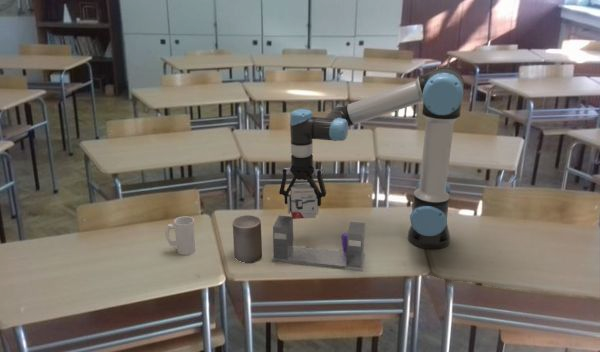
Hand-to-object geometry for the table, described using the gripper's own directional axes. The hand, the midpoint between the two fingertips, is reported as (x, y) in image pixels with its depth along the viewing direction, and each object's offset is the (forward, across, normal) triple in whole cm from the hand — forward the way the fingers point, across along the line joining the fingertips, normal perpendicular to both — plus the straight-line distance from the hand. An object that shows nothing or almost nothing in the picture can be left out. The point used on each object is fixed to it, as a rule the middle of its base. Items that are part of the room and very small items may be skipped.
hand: (303, 212), depth 207 cm
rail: (+11, -8, +13) cm, 19 cm away
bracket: (+12, -18, 0) cm, 22 cm away
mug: (+10, +41, +17) cm, 45 cm away
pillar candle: (+11, +17, +16) cm, 26 cm away
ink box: (+1, 0, 0) cm, 1 cm away
